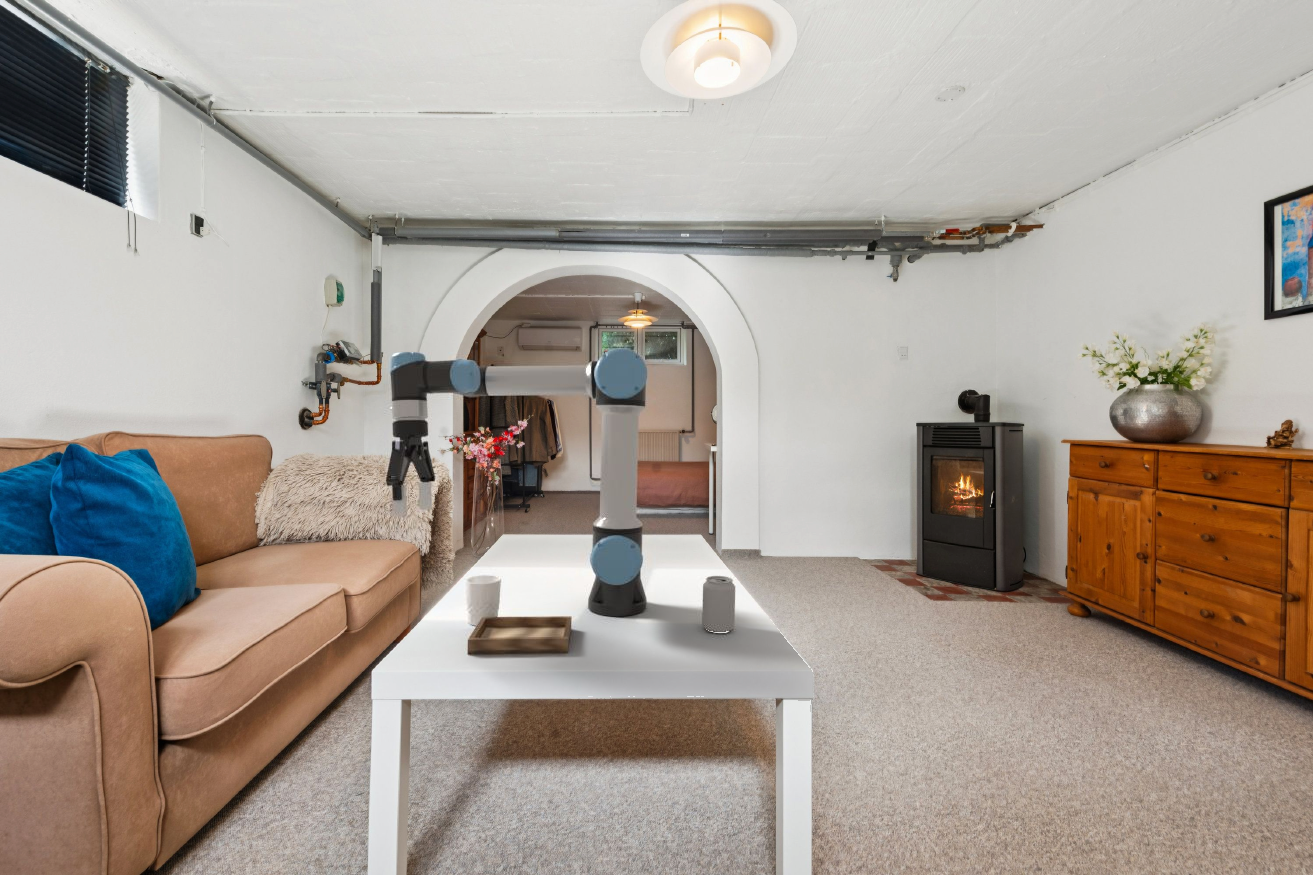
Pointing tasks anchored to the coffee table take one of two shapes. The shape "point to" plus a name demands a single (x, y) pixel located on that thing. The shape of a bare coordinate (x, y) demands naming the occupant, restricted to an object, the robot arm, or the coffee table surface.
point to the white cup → (482, 597)
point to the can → (718, 604)
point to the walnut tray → (521, 635)
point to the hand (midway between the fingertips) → (413, 512)
